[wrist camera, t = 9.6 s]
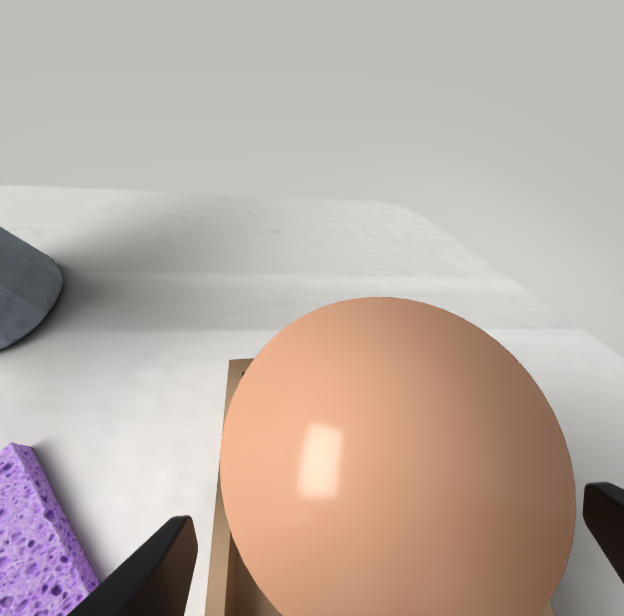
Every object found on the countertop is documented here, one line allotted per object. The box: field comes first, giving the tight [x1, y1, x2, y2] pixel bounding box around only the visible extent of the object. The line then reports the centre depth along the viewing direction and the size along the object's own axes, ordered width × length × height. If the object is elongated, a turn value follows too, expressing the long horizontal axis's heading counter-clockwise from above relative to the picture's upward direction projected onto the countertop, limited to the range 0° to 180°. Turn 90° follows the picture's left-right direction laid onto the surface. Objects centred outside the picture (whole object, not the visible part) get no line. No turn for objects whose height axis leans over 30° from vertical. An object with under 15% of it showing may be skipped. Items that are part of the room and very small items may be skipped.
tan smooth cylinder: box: [220, 297, 576, 616], centre depth 12 cm, size 6×6×13 cm
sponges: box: [0, 443, 100, 616], centre depth 17 cm, size 7×13×2 cm, turn 46°
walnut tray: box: [205, 358, 555, 616], centre depth 17 cm, size 14×14×2 cm
